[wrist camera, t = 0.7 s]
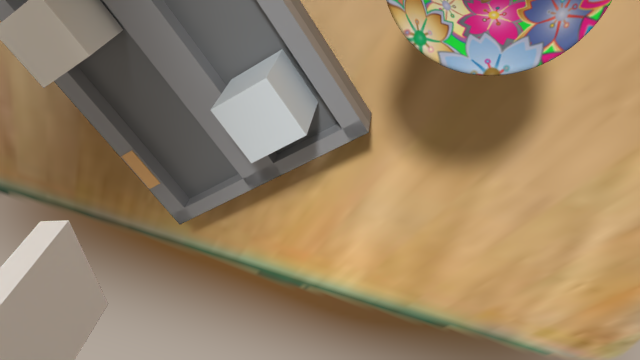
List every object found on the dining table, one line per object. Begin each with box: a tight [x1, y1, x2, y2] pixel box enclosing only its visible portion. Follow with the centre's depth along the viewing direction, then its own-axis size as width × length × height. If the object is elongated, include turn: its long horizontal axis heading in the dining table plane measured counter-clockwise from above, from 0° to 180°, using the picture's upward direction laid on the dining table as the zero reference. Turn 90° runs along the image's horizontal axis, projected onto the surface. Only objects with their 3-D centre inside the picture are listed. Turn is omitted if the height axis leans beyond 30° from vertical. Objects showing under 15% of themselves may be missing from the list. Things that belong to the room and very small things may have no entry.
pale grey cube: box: [211, 49, 318, 163], centre depth 35 cm, size 4×4×4 cm
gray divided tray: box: [0, 0, 372, 224], centre depth 37 cm, size 20×16×3 cm
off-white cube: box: [0, 0, 123, 88], centre depth 34 cm, size 4×4×4 cm
